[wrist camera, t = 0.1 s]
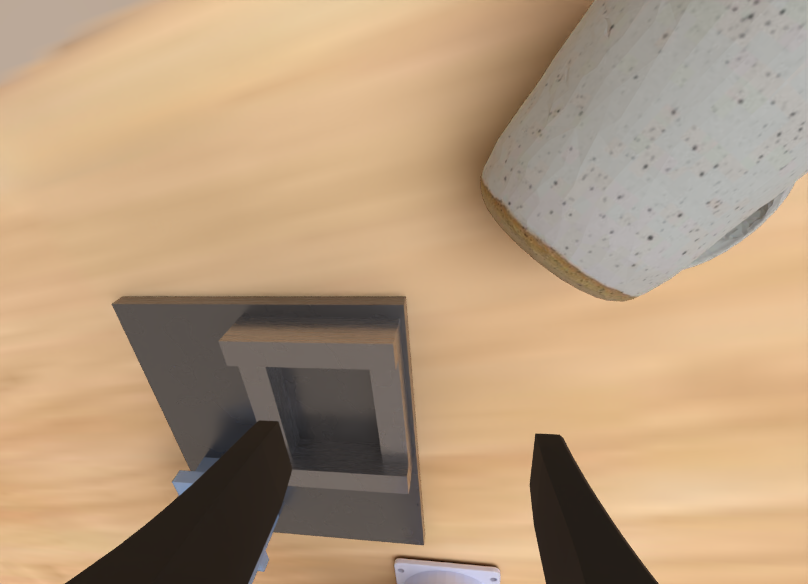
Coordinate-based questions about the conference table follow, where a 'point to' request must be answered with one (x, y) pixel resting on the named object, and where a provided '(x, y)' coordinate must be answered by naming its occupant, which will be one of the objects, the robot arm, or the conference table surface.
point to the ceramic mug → (655, 140)
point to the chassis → (295, 399)
